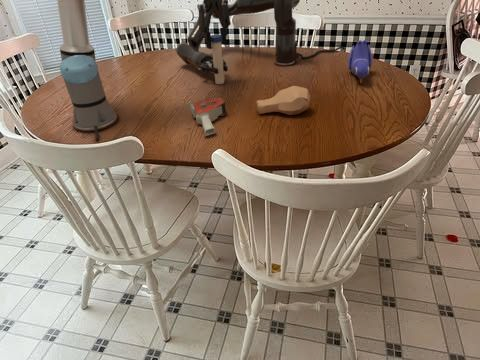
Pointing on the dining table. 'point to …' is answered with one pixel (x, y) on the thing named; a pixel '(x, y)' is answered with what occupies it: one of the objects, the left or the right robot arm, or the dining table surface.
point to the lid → (216, 38)
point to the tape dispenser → (207, 113)
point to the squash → (286, 101)
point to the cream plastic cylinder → (218, 62)
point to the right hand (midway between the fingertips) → (221, 70)
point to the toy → (360, 59)
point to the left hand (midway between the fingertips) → (216, 46)
